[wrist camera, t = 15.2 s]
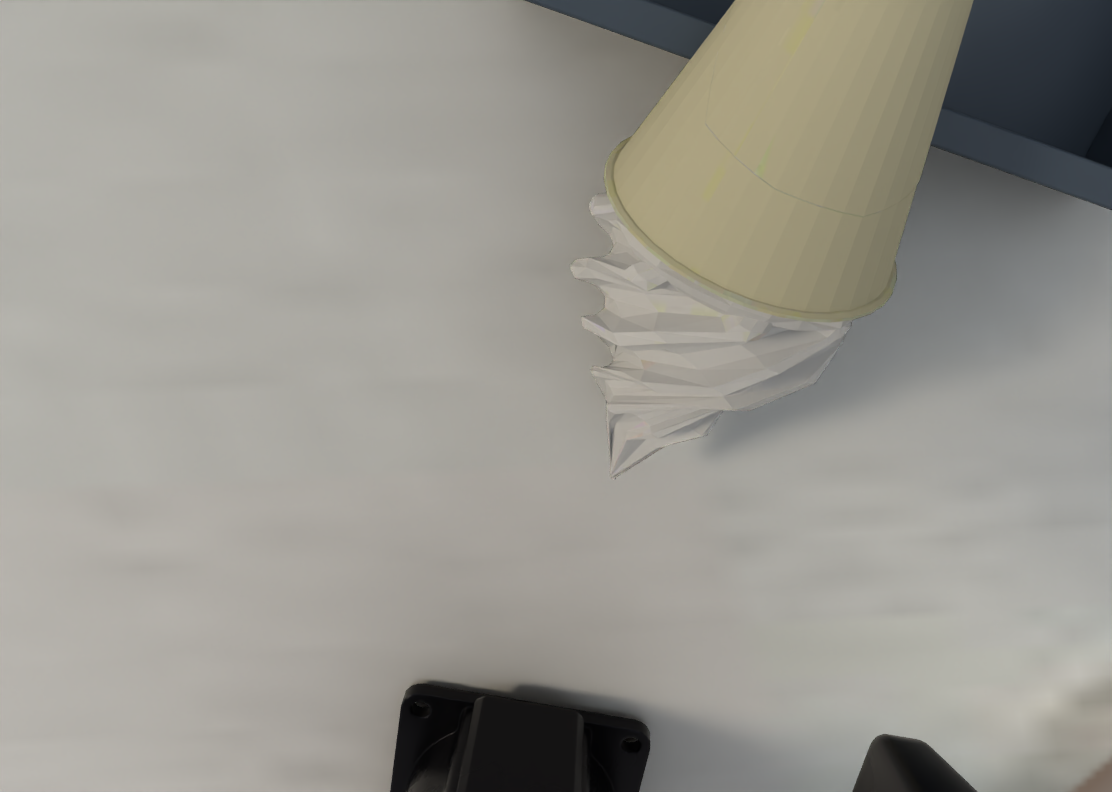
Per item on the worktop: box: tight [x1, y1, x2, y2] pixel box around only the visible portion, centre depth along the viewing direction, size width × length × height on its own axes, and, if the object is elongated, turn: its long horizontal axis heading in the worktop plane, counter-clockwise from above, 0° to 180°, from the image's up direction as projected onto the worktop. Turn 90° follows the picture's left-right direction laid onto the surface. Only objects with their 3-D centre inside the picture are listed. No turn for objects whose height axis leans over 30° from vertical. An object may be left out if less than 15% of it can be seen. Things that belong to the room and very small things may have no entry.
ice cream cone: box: [570, 0, 974, 479], centre depth 15 cm, size 5×5×15 cm
